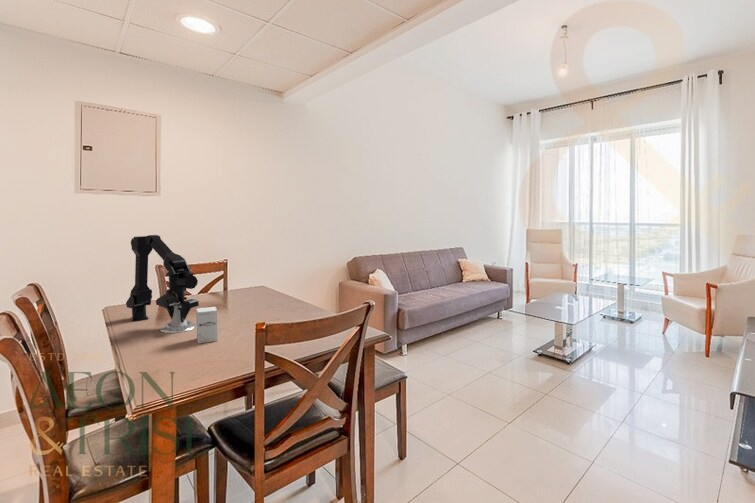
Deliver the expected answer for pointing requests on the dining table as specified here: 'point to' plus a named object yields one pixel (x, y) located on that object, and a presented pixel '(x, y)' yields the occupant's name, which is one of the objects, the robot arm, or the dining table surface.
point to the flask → (177, 318)
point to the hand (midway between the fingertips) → (178, 321)
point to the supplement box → (206, 324)
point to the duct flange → (178, 328)
